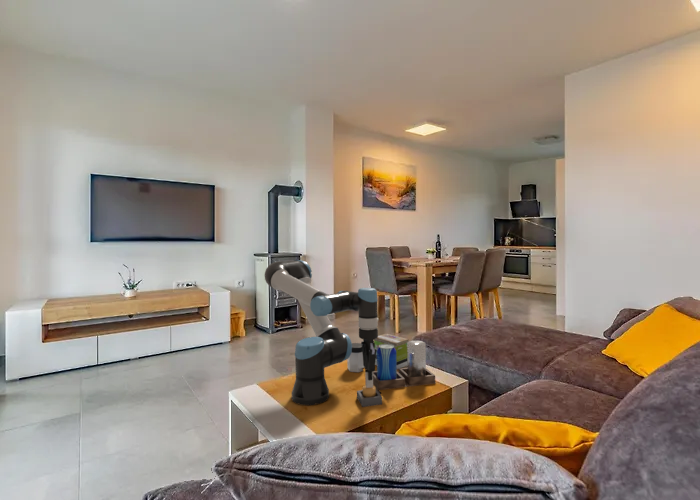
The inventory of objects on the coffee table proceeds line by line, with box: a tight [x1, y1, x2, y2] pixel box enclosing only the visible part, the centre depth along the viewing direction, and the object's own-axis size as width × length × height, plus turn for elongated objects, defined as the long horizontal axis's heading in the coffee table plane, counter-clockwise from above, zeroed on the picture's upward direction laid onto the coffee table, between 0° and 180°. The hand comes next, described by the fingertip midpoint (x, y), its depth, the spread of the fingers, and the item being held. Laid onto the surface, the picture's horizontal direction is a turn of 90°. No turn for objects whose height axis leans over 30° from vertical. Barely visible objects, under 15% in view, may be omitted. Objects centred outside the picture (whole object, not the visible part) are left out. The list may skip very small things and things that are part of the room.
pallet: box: [373, 367, 437, 395], centre depth 158 cm, size 26×14×4 cm, turn 104°
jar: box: [346, 342, 365, 373], centre depth 177 cm, size 9×8×12 cm
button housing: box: [356, 389, 383, 408], centre depth 142 cm, size 8×8×3 cm
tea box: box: [373, 333, 410, 371], centre depth 180 cm, size 15×10×15 cm
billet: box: [407, 340, 427, 377], centre depth 160 cm, size 8×8×16 cm
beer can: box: [376, 344, 398, 381], centre depth 156 cm, size 8×8×16 cm
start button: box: [362, 384, 376, 398], centre depth 142 cm, size 5×5×3 cm
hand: (369, 386), depth 142 cm, fingers closed
